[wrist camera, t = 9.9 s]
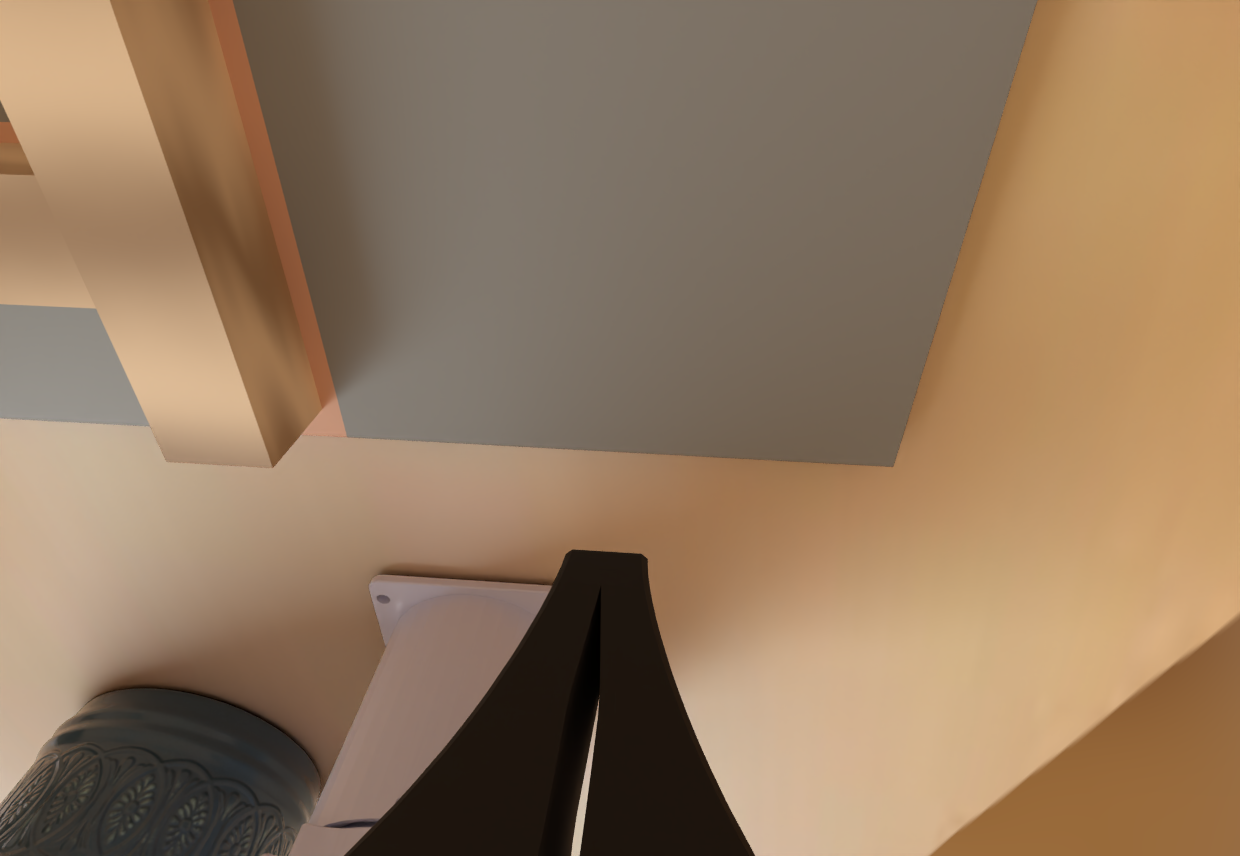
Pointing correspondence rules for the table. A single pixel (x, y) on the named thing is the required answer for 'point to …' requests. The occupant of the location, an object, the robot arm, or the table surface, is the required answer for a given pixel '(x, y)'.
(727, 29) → the slate board
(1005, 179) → the table surface
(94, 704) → the canister
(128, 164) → the t block
